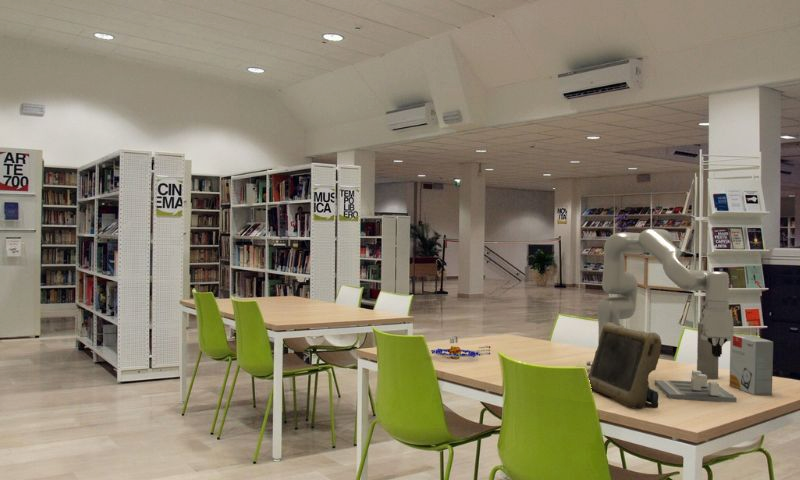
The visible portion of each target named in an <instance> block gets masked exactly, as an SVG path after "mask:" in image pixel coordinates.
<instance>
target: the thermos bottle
mask: <svg viewBox="0 0 800 480" xmlns="http://www.w3.org/2000/svg"><path fill="white" fill-rule="evenodd" d="M704 309H705V308H703V309H701V312H702V314H703V310H704ZM702 314H701V316H700V317H699V322H698V321H697V345H696V346H697V349H696V350H697V351H696V352H697V358H696V359H697V360H696V371H700V372H702V374H705V375H706V376H707V380H717V378H719V358H720V357H715V356H713V354H712V345H711V344H710V343H709V342H708V341H707V340H703V339H701V322H702ZM709 338H710V337H709ZM715 339H716V344H717V342H718V338H716V337H715Z"/></svg>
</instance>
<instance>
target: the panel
mask: <svg viewBox="0 0 800 480" xmlns="http://www.w3.org/2000/svg"><path fill="white" fill-rule="evenodd" d="M654 385H655V386H656V387H657V386H658V387H659V388H660V389H659V388H658V387H657V388H658V389H659V390H660V391H661V392H662V393H664V394H665V396H666V397H667V398H669V399H671V400H672V399H673V400H691V401H708V402H728V403H737V397H736V396H734V395H733V394H731V393H730V392H729V391H727V390H726V389H725V388H723V387H721V386H720V385H719V396H718V395H710V394H709V393H708V385H709V382H707V387H701V390H693V389H691V380H690V381H689V380H688V381H686V380H685V381H684V380H682V381H681V380H663V379H662V380H660V379H655V380H654Z"/></svg>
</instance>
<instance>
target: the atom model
mask: <svg viewBox="0 0 800 480" xmlns="http://www.w3.org/2000/svg"><path fill="white" fill-rule="evenodd" d="M459 337H461V336H460V335H452V338H450V339H449V344H458V342H459V341H458V338H459ZM485 348H486V349H485ZM487 348H488V349H487ZM491 348H492V347H491V346H490V345H489V346H487V345H484V346H479V347H478V350H476V351H474V350H469V349H461V348H460V347H459V346H452V345H451V346H450V348H435V349H429V350H428V351H429V352H430V354H432V355H437V356H442V357H443V356H444V357H450V358H451V359H454V360H460V358H476V357H481V356H483V355H491ZM479 349H481V350H479Z"/></svg>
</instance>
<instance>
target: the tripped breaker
mask: <svg viewBox="0 0 800 480" xmlns="http://www.w3.org/2000/svg"><path fill="white" fill-rule="evenodd" d="M690 382H691V389H693V390H701V379H700V378H698V377H692V376H691V377H690Z"/></svg>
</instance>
